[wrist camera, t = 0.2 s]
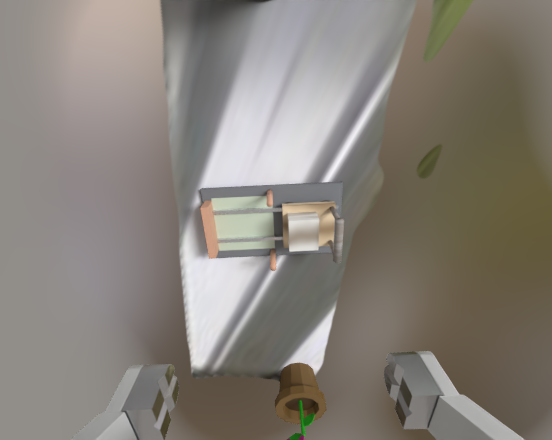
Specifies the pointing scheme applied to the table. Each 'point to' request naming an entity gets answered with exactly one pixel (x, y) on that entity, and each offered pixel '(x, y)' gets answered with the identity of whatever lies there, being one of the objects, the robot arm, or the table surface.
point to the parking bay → (239, 224)
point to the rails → (250, 210)
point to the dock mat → (280, 196)
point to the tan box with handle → (312, 227)
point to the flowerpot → (299, 397)
